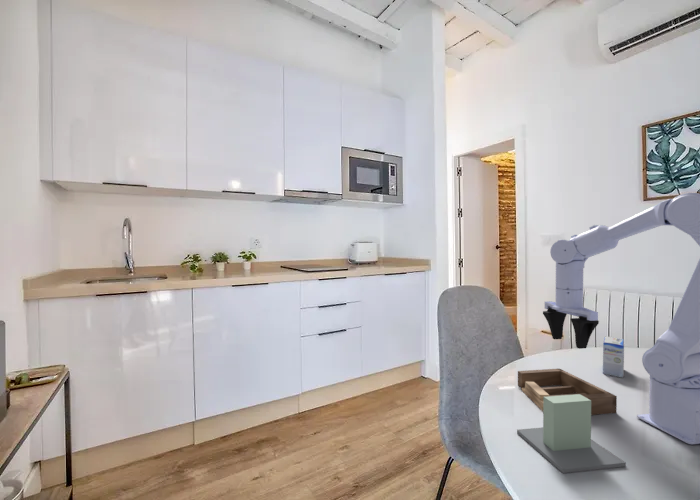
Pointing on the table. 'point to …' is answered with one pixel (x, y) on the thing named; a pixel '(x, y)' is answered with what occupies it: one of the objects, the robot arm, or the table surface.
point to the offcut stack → (535, 393)
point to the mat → (572, 454)
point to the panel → (566, 422)
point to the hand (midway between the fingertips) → (568, 343)
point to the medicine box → (613, 356)
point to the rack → (570, 388)
